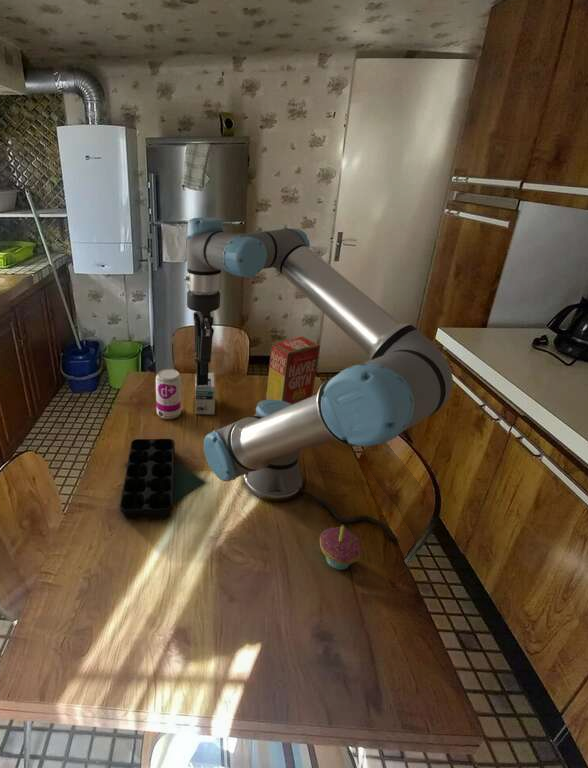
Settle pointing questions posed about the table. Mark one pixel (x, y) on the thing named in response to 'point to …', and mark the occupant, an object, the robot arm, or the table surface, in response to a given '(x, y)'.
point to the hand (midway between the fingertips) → (202, 383)
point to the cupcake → (340, 547)
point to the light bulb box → (205, 396)
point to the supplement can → (168, 393)
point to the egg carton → (149, 479)
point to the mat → (184, 482)
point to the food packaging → (292, 370)
